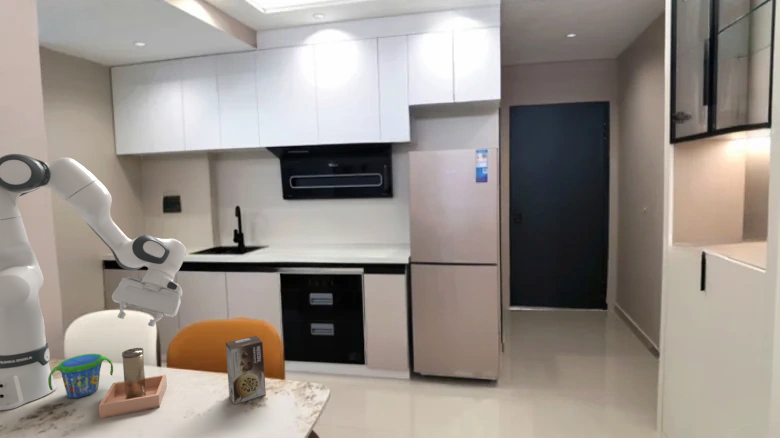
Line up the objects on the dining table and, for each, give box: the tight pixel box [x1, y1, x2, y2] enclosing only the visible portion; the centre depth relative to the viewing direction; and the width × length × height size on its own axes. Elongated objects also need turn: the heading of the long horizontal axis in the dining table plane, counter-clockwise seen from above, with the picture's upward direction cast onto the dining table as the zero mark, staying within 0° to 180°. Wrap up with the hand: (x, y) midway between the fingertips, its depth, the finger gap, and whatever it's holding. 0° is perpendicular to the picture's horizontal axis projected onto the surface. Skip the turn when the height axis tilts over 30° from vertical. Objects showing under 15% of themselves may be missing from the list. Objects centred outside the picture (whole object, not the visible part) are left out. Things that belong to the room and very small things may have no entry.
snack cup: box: [48, 353, 114, 399], centre depth 124 cm, size 16×10×10 cm
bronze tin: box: [121, 347, 146, 399], centre depth 119 cm, size 5×5×14 cm
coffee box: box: [225, 335, 267, 405], centre depth 120 cm, size 9×6×16 cm
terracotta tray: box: [98, 374, 168, 419], centre depth 119 cm, size 14×14×4 cm
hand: (135, 321), depth 133 cm, fingers open, 8 cm apart
